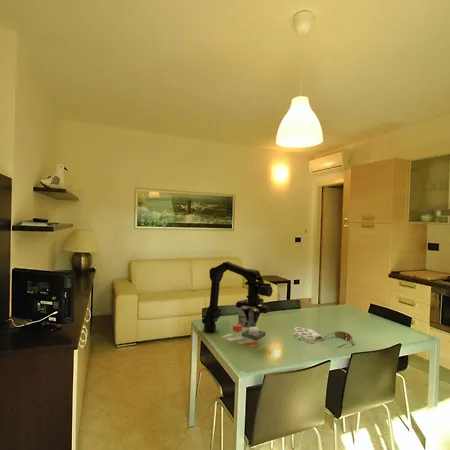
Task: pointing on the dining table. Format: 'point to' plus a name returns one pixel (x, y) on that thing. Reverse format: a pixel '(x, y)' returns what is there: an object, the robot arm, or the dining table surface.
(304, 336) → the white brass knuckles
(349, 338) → the sunglasses
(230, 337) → the game board
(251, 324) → the pawn
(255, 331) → the cream cylinder
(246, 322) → the coffee box
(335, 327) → the dining table surface
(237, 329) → the red die
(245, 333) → the base
